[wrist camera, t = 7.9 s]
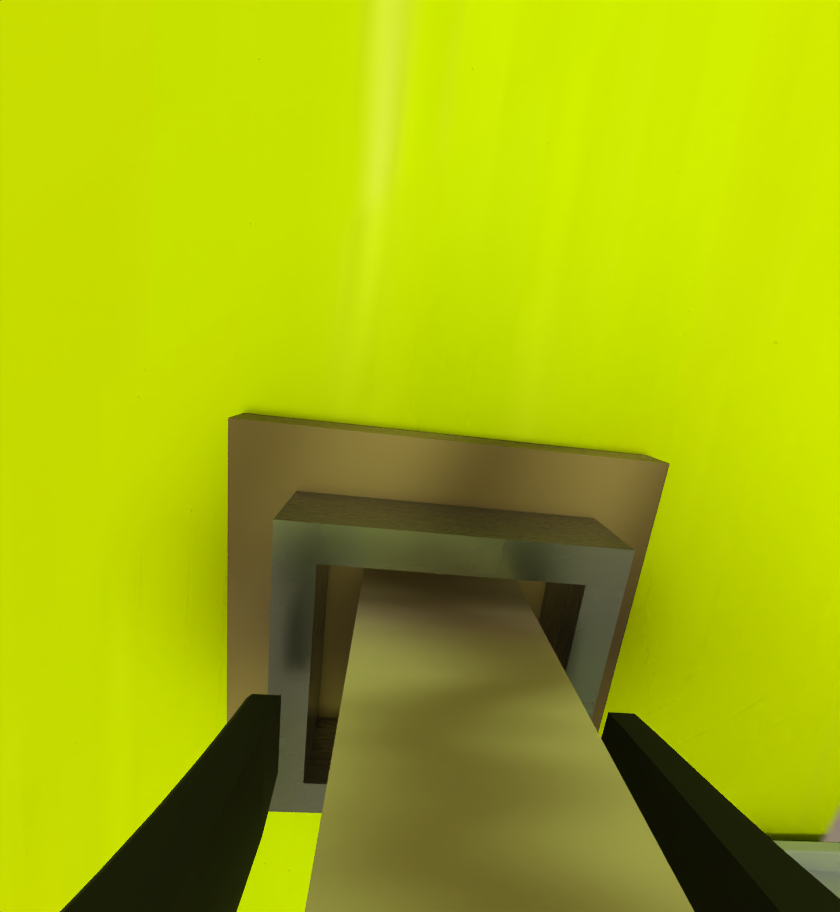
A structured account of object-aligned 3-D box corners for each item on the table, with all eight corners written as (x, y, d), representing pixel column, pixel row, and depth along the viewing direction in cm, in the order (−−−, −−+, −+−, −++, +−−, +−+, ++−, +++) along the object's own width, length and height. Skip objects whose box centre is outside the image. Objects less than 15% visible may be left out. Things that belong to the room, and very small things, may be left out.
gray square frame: (594, 518, 11) (634, 550, 9) (540, 752, 13) (565, 820, 11) (296, 490, 11) (273, 519, 9) (284, 740, 12) (264, 810, 10)
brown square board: (647, 455, 12) (669, 463, 11) (569, 766, 15) (581, 795, 14) (243, 413, 11) (228, 417, 10) (238, 753, 14) (226, 782, 13)
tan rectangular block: (514, 577, 11) (756, 1026, 4) (491, 701, 12) (644, 1264, 5) (364, 566, 11) (283, 1032, 3) (353, 694, 12) (270, 1285, 4)
